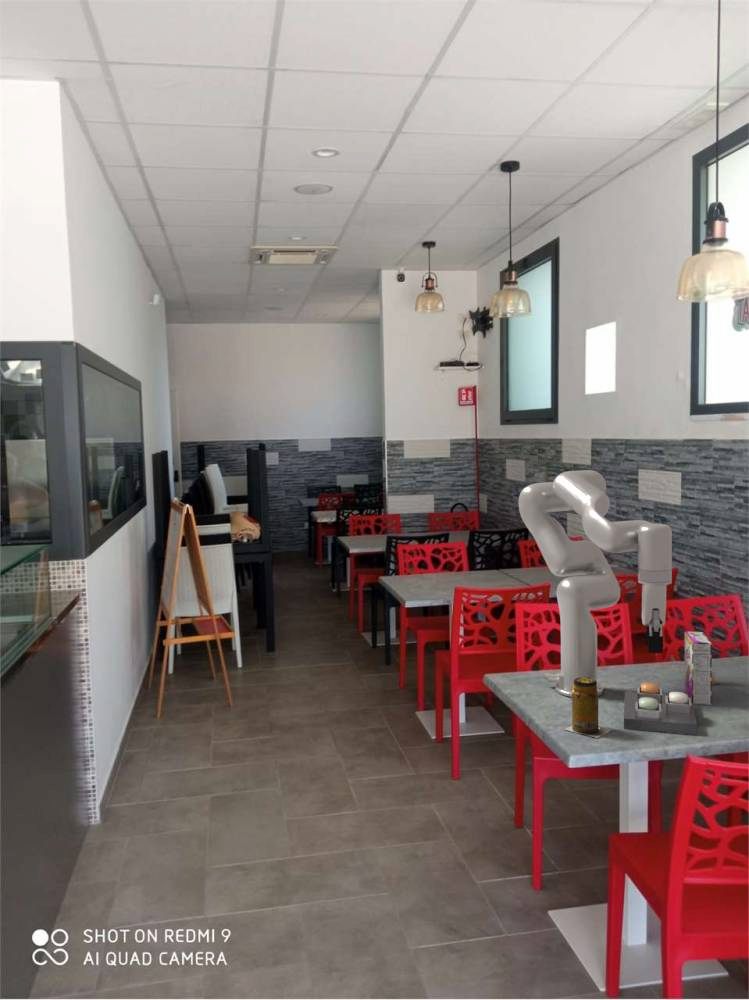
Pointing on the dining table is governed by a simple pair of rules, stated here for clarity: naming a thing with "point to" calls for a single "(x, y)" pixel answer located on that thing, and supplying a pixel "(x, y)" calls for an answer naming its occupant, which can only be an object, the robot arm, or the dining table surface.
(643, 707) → the sage button
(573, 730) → the condiment
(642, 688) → the terracotta button
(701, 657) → the candy bar box
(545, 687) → the dining table surface
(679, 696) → the cream button
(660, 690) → the button panel
